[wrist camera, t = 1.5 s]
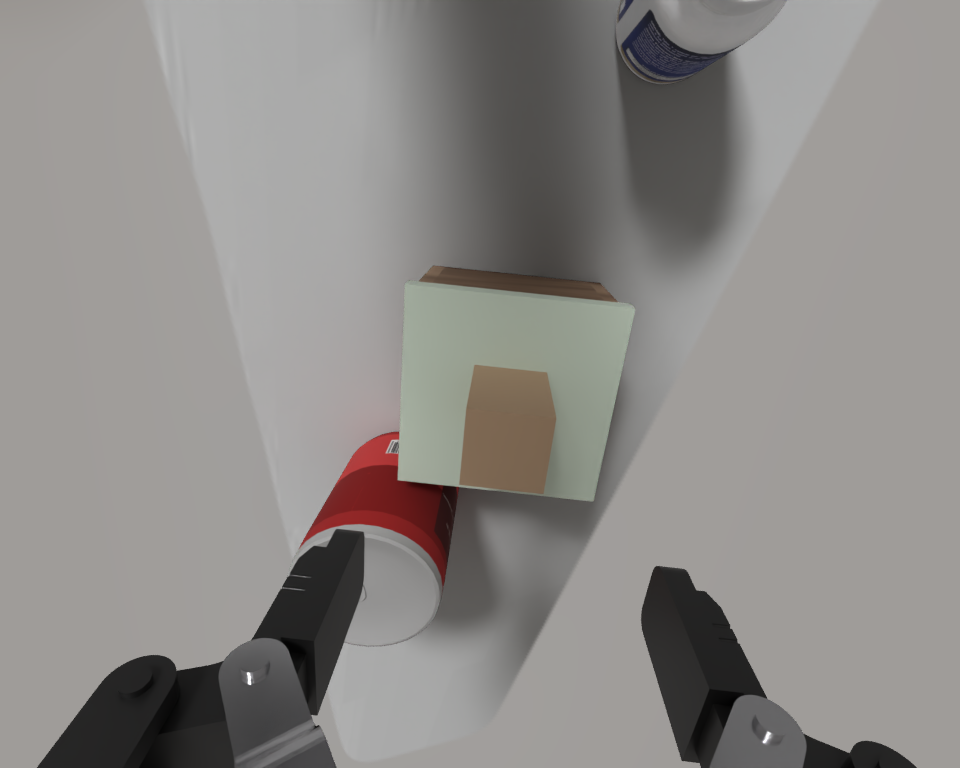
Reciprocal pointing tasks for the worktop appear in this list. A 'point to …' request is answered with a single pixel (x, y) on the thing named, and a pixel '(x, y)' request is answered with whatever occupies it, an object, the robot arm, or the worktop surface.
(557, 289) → the box
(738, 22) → the pill bottle
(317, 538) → the canned food
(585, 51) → the worktop surface
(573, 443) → the lid
